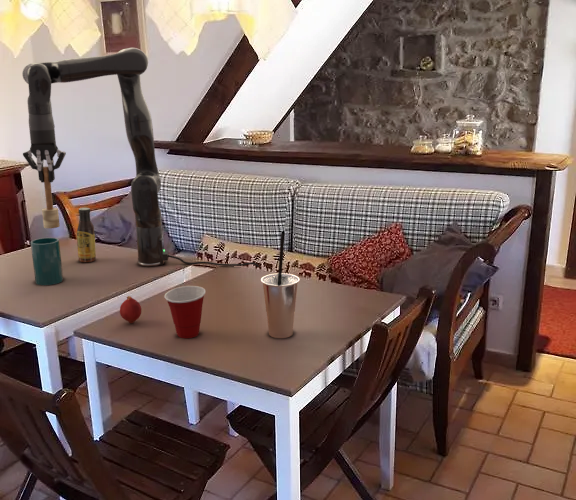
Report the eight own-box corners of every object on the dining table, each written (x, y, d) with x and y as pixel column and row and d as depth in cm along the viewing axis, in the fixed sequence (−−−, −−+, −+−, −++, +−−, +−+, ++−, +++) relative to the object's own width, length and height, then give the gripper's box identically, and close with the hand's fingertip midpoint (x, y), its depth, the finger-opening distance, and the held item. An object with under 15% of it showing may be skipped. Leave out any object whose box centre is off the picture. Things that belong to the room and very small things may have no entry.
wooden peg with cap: (61, 224, 215) (55, 165, 210) (57, 228, 211) (51, 167, 205) (46, 225, 215) (40, 165, 210) (41, 228, 210) (35, 168, 205)
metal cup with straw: (284, 346, 162) (283, 232, 154) (252, 335, 169) (249, 225, 161) (310, 333, 170) (311, 224, 162) (279, 323, 177) (277, 218, 169)
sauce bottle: (75, 262, 236) (70, 209, 230) (85, 257, 242) (80, 206, 236) (90, 263, 234) (85, 210, 229) (100, 259, 240) (95, 207, 234)
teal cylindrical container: (66, 276, 220) (61, 237, 216) (59, 284, 211) (55, 243, 207) (39, 277, 219) (34, 238, 215) (32, 285, 210) (27, 244, 207)
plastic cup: (159, 333, 171) (156, 291, 168) (194, 323, 178) (192, 282, 174) (179, 346, 163) (176, 302, 160) (215, 335, 169) (213, 292, 166)
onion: (131, 317, 182) (129, 291, 180) (146, 321, 180) (144, 294, 177) (116, 324, 178) (114, 297, 175) (131, 328, 175) (129, 300, 173)
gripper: (15, 129, 200) (21, 184, 204) (61, 129, 201) (66, 183, 206) (23, 127, 207) (29, 180, 212) (66, 127, 208) (71, 180, 213)
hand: (47, 181), depth 209 cm, fingers closed on wooden peg with cap
